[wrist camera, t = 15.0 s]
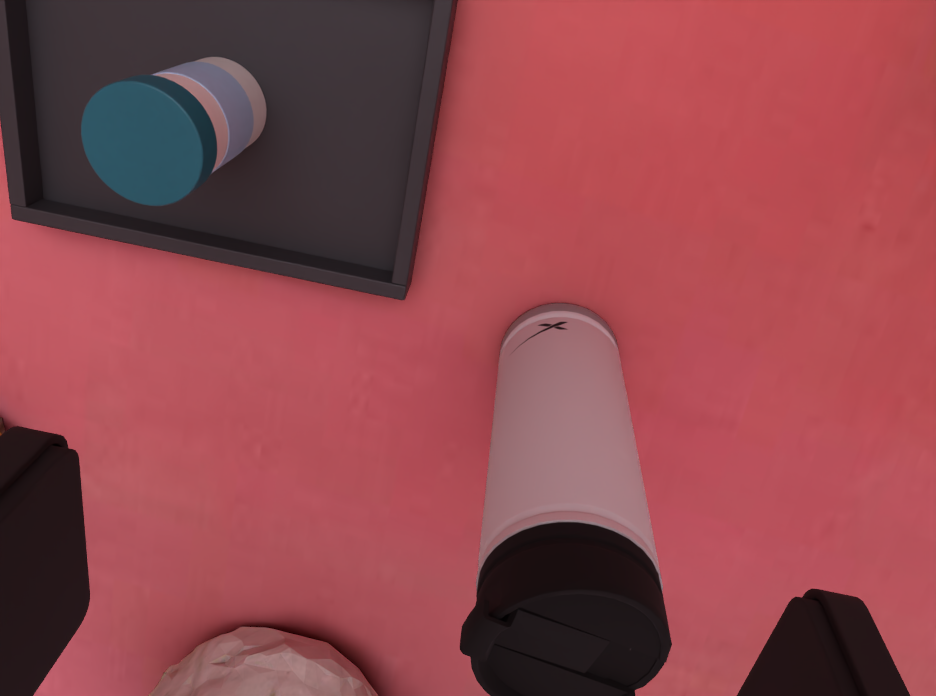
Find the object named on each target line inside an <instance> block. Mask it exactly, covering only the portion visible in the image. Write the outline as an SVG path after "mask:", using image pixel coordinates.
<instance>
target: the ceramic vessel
mask: <svg viewBox="0 0 936 696" xmlns="http://www.w3.org/2000/svg"><path fill="white" fill-rule="evenodd" d="M148 696H378V694H377V693H376V692H375V690H374V689H373V688H372V687H371V685H370V684H369V683H368V681H367V680H366V679H365V677H364V675H363V674H362V672H361V671H360V669H359V668H357V667H356V666H355V665H354V664H353V663H351V662H350V661H349V660H348V659H347V658H345V657H344V656H343V655H342V654H341V653H339V652H338V651H337V650H336V649H335V648H333V647H332V646H331V645H330V644H329V643H327V642H323V641H319V640H315V639H311V638H307V637H303V636H299V635H295V634H291V633H288V632H284V631H280V630H276V629H271V628H266V627H240V628H238V629H236V630H234V631H232V632H229V633H227V634H221V635H219V636H218V637H215V638H212V639H210V640H208V641H206V642H204V643H202V644H200V645H198V646H196V648H195V649H194V650H193V651H192V652H191V653H190V654H188V655H187V656H185V657H184V658H183V659H182V660H181V661H180V662H179V663H178V664H175V665H171V666H169V668H168V669H167V670H166V671H165V672H164V674H163V676H162V678H161V680H160V682H159V683H158V684H157V686H156V687H155V688H154V690H153V691H152V692H151V693H150V694H149V695H148Z"/></svg>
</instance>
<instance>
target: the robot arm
mask: <svg viewBox="0 0 936 696" xmlns="http://www.w3.org/2000/svg"><path fill="white" fill-rule="evenodd" d="M89 601H90V589H89V576H88V564H87V552H86V539H85V527H84V515H83V502H82V490H81V478H80V466H79V457H78V453H77V452H76V450H73V449H68V445H67V441H66V439H65V438H64V436H61V435H58V434H53V433H48V432H43V431H38V430H33V429H28V428H23V427H18V426H16V427H12V428H10V429H8V430H7V431H6V432H4V433H3V434H2V435H1V436H0V696H33V695H34V693H35V692H36V690H37V689H38V687H39V686H40V684H41V683H42V681H43V680H44V678H45V677H46V675H47V674H48V672H49V671H50V669H51V668H52V667H53V665H54V664H55V662H56V661H57V659H58V658H59V656H60V655H61V653H62V652H63V650H64V649H65V647H66V646H67V644H68V643H69V641H70V640H71V638H72V637H73V635H74V634H75V632H76V631H77V629H78V628H79V626H80V625H81V623H82V621H83V619H84V617H85V615H86V612H87V609H88V606H89ZM737 696H910V694H909V692H908V690H907V688H906V686H905V684H904V682H903V680H902V678H901V676H900V674H899V672H898V670H897V668H896V666H895V664H894V662H893V660H892V657H891V655H890V653H889V651H888V649H887V647H886V645H885V643H884V641H883V639H882V637H881V635H880V633H879V631H878V629H877V627H876V625H875V623H874V621H873V619H872V617H871V615H870V613H869V611H868V608H867V607H866V605H865V604H864V602H863V601H862V600H860V599H859V598H857V597H853V596H848V595H843V594H839V593H834V592H829V591H824V590H819V589H810V590H809V591H807V592H806V593H805V594H804V596H803V597H802V598H801V597H795V598H793V599H792V600H791V601H790V602H789V604H788V605H787V607H786V609H785V611H784V613H783V614H782V616H781V618H780V620H779V621H778V623H777V625H776V627H775V629H774V630H773V632H772V634H771V636H770V637H769V639H768V641H767V643H766V645H765V646H764V648H763V650H762V652H761V654H760V655H759V657H758V659H757V661H756V662H755V664H754V666H753V668H752V670H751V671H750V673H749V675H748V677H747V678H746V680H745V682H744V684H743V686H742V687H741V689H740V691H739V693H738V695H737Z"/></svg>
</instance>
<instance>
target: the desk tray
mask: <svg viewBox="0 0 936 696" xmlns="http://www.w3.org/2000/svg"><path fill="white" fill-rule="evenodd" d="M457 1H458V0H0V120H1V129H2V138H3V147H4V155H5V164H6V173H7V182H8V191H9V199H10V204H11V214H12V219H14V220H19V221H23V222H28V223H33V224H38V225H43V226H47V227H52V228H57V229H62V230H67V231H72V232H76V233H81V234H86V235H91V236H96V237H100V238H105V239H110V240H115V241H120V242H125V243H129V244H134V245H139V246H144V247H149V248H153V249H158V250H163V251H168V252H173V253H177V254H182V255H187V256H192V257H197V258H202V259H206V260H211V261H216V262H221V263H226V264H230V265H235V266H240V267H245V268H250V269H255V270H259V271H264V272H269V273H274V274H279V275H283V276H288V277H293V278H298V279H303V280H308V281H312V282H317V283H322V284H327V285H332V286H336V287H341V288H346V289H351V290H356V291H360V292H365V293H370V294H375V295H380V296H385V297H389V298H394V299H399V300H405V298H406V295H407V293H408V290H409V287H410V285H411V280H412V274H413V268H414V262H415V256H416V250H417V244H418V238H419V232H420V226H421V220H422V214H423V208H424V201H425V195H426V189H427V183H428V177H429V171H430V165H431V159H432V153H433V147H434V141H435V135H436V129H437V123H438V117H439V111H440V104H441V98H442V92H443V86H444V80H445V74H446V68H447V62H448V56H449V50H450V44H451V38H452V32H453V26H454V20H455V13H456V7H457ZM207 57H221V58H226V59H229V60H232V61H234V62H236V63H238V64H239V65H241V66H242V67H244V68H245V69H246V70H247V71H248V72H249V73H250V74H251V75H252V76H253V77H254V78H255V80H256V81H257V83H258V84H259V86H260V88H261V90H262V92H263V95H264V98H265V102H266V121H265V125H264V128H263V130H262V132H261V134H260V136H259V137H258V138H257V139H256V140H255V141H254V142H253V143H252V144H251V145H249V146H248V147H246V148H245V149H244V150H243V151H242V152H241V153H240V154H238V155H237V156H236V157H234V158H233V159H231V160H230V161H228V162H227V163H226V164H224V165H223V166H221V167H220V168H219V169H217V170H216V171H214V172H213V173H211V174H210V176H209V178H208V179H207V180H206V181H205V182H204V183H203V184H202V185H201V186H200V187H199V188H197V189H196V190H194V191H193V192H192V193H190V194H189V195H187V196H186V197H185V198H183V199H181V200H180V201H177V202H175V203H173V204H169V205H163V206H149V205H143V204H139V203H136V202H133V201H131V200H128V199H126V198H124V197H122V196H121V195H119V194H118V193H116V192H115V191H113V190H112V189H111V188H110V187H108V186H107V185H106V184H105V183H104V182H103V181H102V180H101V178H100V177H99V176H98V175H97V173H96V172H95V171H94V169H93V168H92V166H91V164H90V162H89V160H88V158H87V156H86V153H85V151H84V147H83V143H82V137H81V122H82V116H83V113H84V110H85V108H86V105H87V103H88V102H89V100H90V99H91V97H92V96H93V95H94V94H95V93H96V92H97V91H98V90H100V89H101V88H103V87H104V86H106V85H108V84H111V83H114V82H117V81H120V80H123V79H126V78H129V77H132V76H137V75H152V74H155V73H157V72H160V71H163V70H166V69H169V68H172V67H175V66H178V65H181V64H184V63H188V62H194V61H197V60H199V59H203V58H207Z"/></svg>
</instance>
